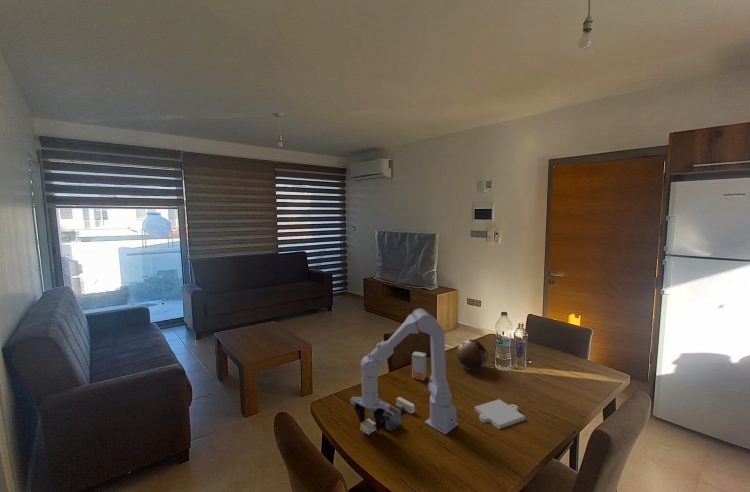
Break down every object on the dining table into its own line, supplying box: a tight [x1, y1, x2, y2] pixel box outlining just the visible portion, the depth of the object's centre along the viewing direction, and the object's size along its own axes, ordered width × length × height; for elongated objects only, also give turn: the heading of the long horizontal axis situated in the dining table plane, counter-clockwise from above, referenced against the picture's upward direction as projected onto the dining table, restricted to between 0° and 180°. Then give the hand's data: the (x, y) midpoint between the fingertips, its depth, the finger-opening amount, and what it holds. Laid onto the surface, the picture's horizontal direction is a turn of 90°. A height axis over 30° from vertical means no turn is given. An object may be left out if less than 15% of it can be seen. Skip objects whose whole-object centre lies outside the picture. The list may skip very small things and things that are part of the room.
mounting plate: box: [474, 398, 526, 430], centre depth 129 cm, size 18×13×2 cm
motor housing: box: [368, 398, 402, 432], centre depth 126 cm, size 11×6×6 cm, turn 43°
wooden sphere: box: [456, 339, 489, 372], centre depth 167 cm, size 15×15×15 cm
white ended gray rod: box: [359, 396, 416, 436], centre depth 126 cm, size 8×24×3 cm, turn 133°
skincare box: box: [411, 351, 427, 381], centre depth 159 cm, size 6×4×12 cm
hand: (370, 425), depth 121 cm, fingers open, 5 cm apart
